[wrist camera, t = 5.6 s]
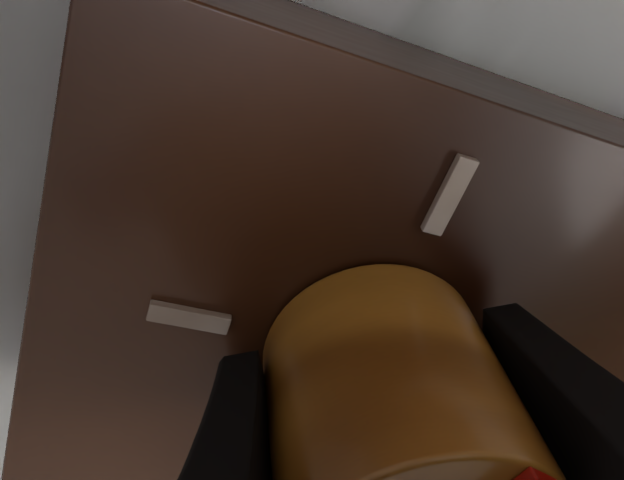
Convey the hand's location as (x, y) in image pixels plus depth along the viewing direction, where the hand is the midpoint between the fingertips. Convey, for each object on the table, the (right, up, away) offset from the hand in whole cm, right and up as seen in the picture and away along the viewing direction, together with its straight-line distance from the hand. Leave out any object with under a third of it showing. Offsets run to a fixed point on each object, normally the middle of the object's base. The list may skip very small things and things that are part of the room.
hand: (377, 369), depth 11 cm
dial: (0, 0, 0) cm, 1 cm away
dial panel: (0, +2, +3) cm, 4 cm away
